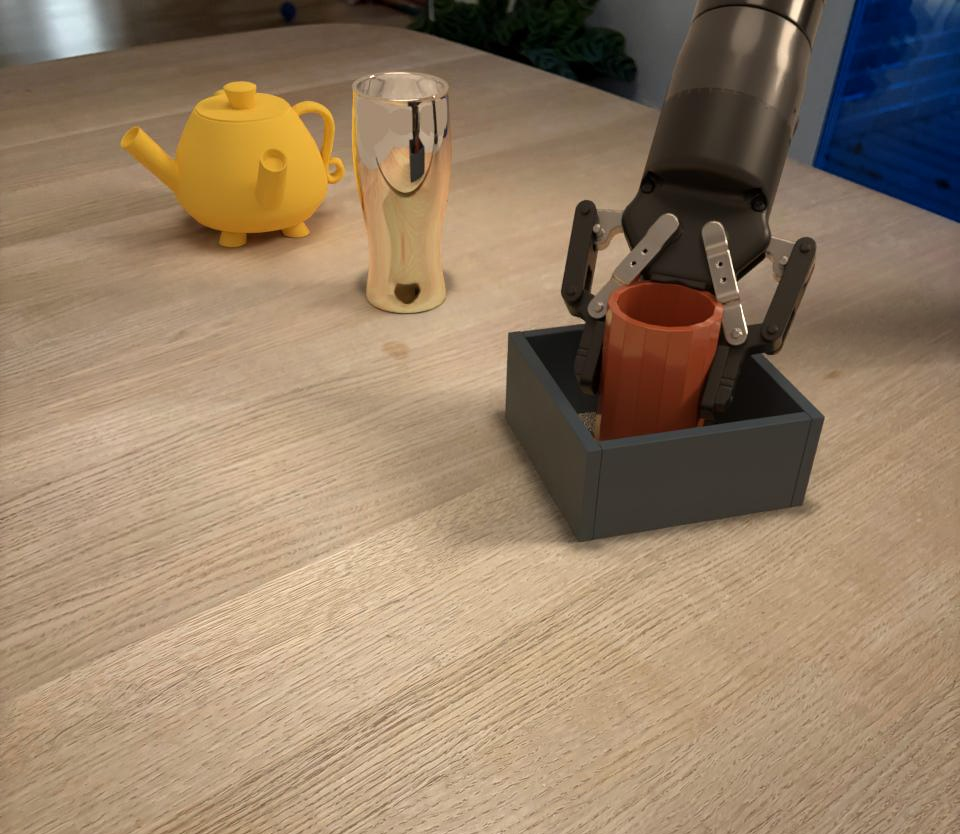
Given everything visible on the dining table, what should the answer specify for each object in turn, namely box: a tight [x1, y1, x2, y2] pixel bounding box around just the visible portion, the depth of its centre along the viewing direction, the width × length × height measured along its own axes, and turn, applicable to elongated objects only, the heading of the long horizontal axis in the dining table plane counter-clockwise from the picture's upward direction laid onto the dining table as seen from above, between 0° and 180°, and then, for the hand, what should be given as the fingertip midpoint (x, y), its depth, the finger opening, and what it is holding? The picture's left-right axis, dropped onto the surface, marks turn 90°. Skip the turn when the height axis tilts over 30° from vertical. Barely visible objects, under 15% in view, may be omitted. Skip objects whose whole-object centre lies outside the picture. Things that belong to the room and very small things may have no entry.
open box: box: [504, 323, 826, 543], centre depth 66 cm, size 14×14×7 cm
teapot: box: [120, 80, 345, 248], centre depth 91 cm, size 14×14×11 cm
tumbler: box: [593, 280, 724, 442], centre depth 64 cm, size 6×6×10 cm
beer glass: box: [351, 71, 453, 314], centre depth 81 cm, size 7×7×15 cm
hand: (646, 402), depth 63 cm, fingers closed on tumbler, 6 cm apart
